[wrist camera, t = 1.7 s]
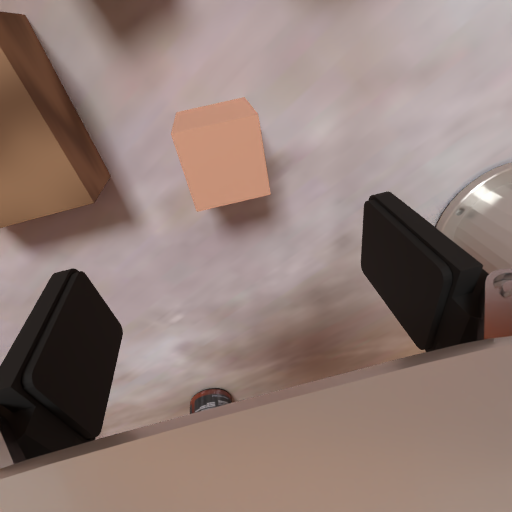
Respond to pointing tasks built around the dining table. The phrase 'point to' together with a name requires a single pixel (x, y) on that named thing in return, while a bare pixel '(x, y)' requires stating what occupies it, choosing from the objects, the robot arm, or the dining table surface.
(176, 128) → the terracotta block
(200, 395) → the supplement bottle
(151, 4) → the dining table surface
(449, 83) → the dining table surface
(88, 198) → the walnut base block
